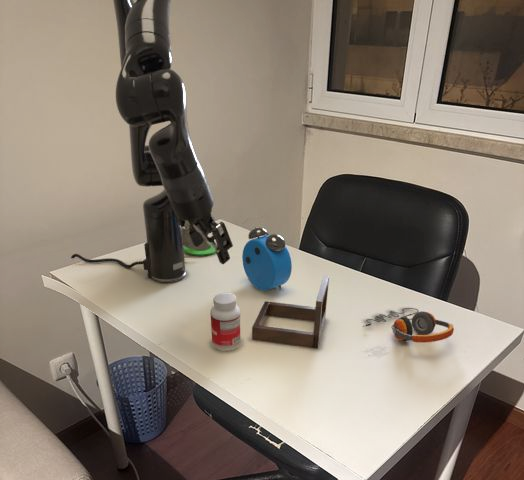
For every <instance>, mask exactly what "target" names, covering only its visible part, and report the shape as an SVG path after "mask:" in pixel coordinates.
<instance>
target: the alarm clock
mask: <svg viewBox="0 0 524 480" xmlns="http://www.w3.org/2000/svg"><path fill="white" fill-rule="evenodd" d="M247 238H248V241H247V242H246V243H245V245H244V247H243V249H242V256H241V257H242V267H243V270H244V273H245V275H246V277H247V279H248V280H249V282H250V283H251V285H252V286H253V287H254V288H256V289H257V290H260V291H265V292H266V291H269V290H272V289H276V288H279V290H282V285H285V284H286V283H287V282H288V281H289V280H290V277H291V275H292V270H293V269H292V268H293V265H292V257H291V254H290V252H289V249H288V247H287V245H286V241H285V239H284V238H283V236H281V235H279V234H278V233H272V234H269V232H268V231H267V229H265V228H263V227H259V226H258V227H257V226H255V227H254V228H253V229H251V230H250V231H249V233H248V236H247Z"/></svg>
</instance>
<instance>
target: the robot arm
mask: <svg viewBox="0 0 524 480" xmlns="http://www.w3.org/2000/svg"><path fill="white" fill-rule="evenodd" d="M112 2H113V8H114V14H115V20H116V27H117V28H116V29H117V37H118V38H117V39H118V48H119V59H120V60H119V61H120V70H119V73H118V77H117V81H116V85H115V104H116V108H117V111H118V113H119V116H120V117H121V119H122V120H123V121H124V122H125V123H126V124H127V125H128V129H129V144H130V162H131V163H130V164H131V170H132V175H133V176H132V177H133V179H134V181H135V183H136V185H138V186H140V187H163V189H162V191H160V192H159V193H157V194H156V195H153V196H151V197H148V198H147V199H145V200H144V202H143V203H142V210H143V220H144V227H145V235H146V242H145V243H144V244H143V246H144V247H143V248H144V255H145V258H144V259H143V260H139V261H134V262H132V263H131V264H127V263H125V262H123V261H122V260H120V259H118V258H110V257H109V258H98V259H96V258H95V259H88V258H85V257H83V256H82V255H81V254H78V253H74V254H72V255H71V257H70V259H75V258H78V259H79V260H81V261H83V262H86V263H90V264H91V263H92V264H93V263H105V262H114V263H118V264H120V265H121V266H122V267H125V268H127V269H131V268H133V267H135V266H139V265H142V266H143V267H142V268H143V271H147V278H148V279H152V280H153V281H155V282H158V283H174V282H178V281H180V280H183V279H184V278H185V277H187V271H186V260H185V252H184V246H183V233H182V228H184V229H185V230H186V232H187V233H189V235H190V237H191V240H192V242H193V244H194V246H196V247H198V246H199V245H201V244H202V243H203V241H204V240H203V238H204V239H205V241H206V242H207V243H210V244H211V245H212V246H213V248H214V249H215V251H216V253H215V254H216V256H217V259H218V262H219V263H220V264H221V265H225V264H226V263H227V262H228V261H230V259H231V256H230V254H229V250H230V249H232V248H233V247H234V245H233V242H232V239H231V236H230V234H229V232H228V229H227V226H226V224H225V223H224V222H223V221H220V222H219V223H217V222H216V220H215V217H214V216H213V214H212V212H211V210H212V211H213V207H214V198H213V195H212V192H211V189H210V187H209V184H208V180H207V178H206V175H205V172H204V169H203V167H202V165H201V164H200V162H199V159H198V156H197V154H196V151H195V148H194V145H193V142H192V139H191V135H190V130H189V124H188V108H187V107H188V105H187V102H188V101H187V91H186V87H185V83H184V81H183V79H182V77H181V76H180V75H179V74H178V73H177V72H176V71H175V70H173V69H171V68H172V61H173V58H172V56H173V55H172V47H171V46H172V45H171V34H170V15H171V13H170V12H171V3H172V0H136V1H134V0H112ZM167 122H170V123H169V124H168V125H166V126H165V127H163V128H160V129H159V130H157V131H155V132H154V133H153V134H152V135H151V136H150V138H149V140H148V144H147V145H146V142H147V138H148V135H149V132H150V130H151V129H152V127H153V125H158V124H163V123H167ZM211 232H212V233H211ZM210 234H211V236H209V235H210ZM207 235H208V236H207Z"/></svg>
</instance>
